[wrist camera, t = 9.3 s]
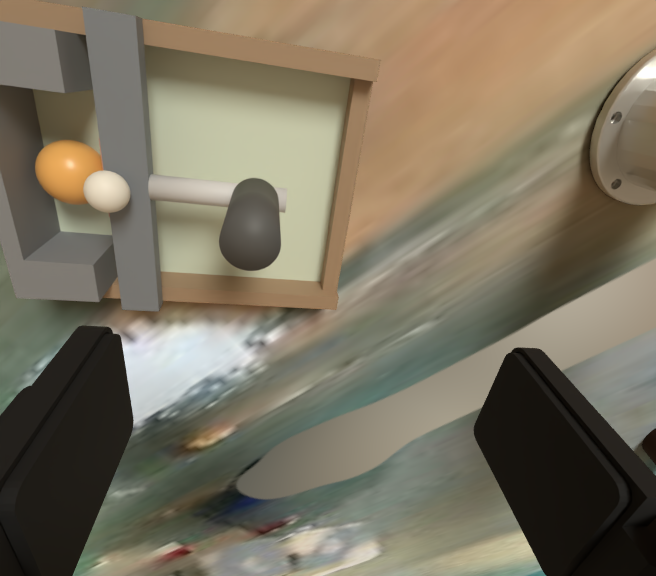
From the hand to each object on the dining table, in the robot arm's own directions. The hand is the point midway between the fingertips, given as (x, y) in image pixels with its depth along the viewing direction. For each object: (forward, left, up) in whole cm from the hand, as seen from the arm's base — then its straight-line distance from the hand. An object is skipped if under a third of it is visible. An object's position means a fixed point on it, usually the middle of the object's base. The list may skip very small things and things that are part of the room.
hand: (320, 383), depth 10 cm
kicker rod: (+6, +1, -22) cm, 22 cm away
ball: (+14, +1, -20) cm, 24 cm away
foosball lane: (+6, +1, -23) cm, 24 cm away
